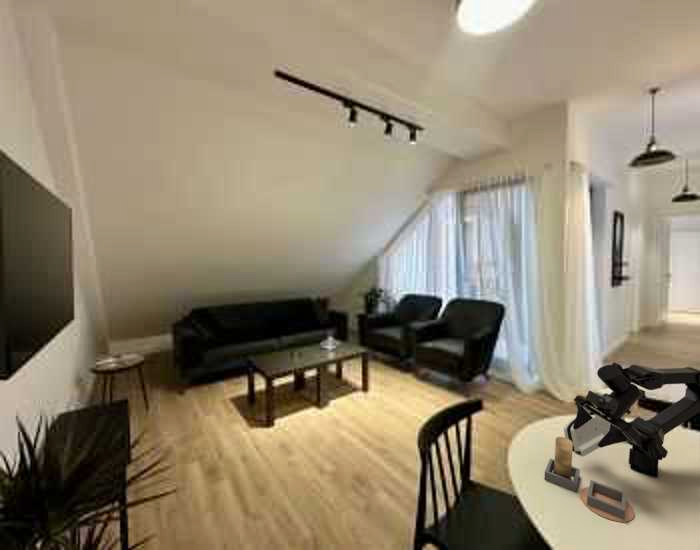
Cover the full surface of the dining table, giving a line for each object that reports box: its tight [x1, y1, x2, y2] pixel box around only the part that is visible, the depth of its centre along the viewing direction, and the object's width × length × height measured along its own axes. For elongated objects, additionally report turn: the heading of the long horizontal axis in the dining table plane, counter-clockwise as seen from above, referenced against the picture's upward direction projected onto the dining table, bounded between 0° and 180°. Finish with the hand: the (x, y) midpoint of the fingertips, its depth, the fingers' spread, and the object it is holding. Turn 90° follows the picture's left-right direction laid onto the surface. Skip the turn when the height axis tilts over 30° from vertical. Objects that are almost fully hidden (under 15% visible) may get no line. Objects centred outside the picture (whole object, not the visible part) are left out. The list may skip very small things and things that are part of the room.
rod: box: [553, 436, 574, 480], centre depth 102 cm, size 4×4×12 cm
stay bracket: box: [579, 479, 635, 523], centre depth 92 cm, size 12×12×3 cm
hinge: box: [563, 417, 605, 458], centre depth 119 cm, size 17×5×10 cm, turn 118°
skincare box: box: [594, 387, 626, 435], centre depth 125 cm, size 8×7×16 cm
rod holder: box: [544, 458, 581, 493], centre depth 103 cm, size 8×8×2 cm
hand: (585, 437), depth 102 cm, fingers open, 9 cm apart
